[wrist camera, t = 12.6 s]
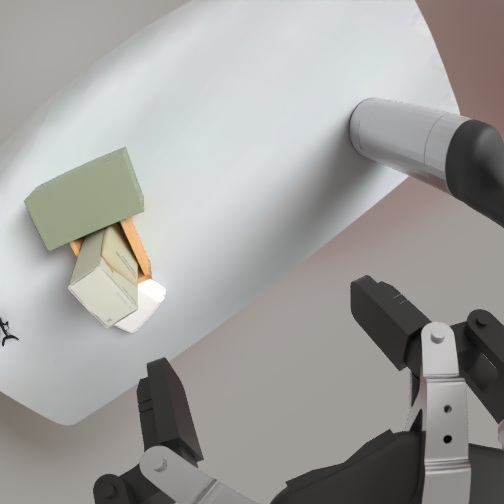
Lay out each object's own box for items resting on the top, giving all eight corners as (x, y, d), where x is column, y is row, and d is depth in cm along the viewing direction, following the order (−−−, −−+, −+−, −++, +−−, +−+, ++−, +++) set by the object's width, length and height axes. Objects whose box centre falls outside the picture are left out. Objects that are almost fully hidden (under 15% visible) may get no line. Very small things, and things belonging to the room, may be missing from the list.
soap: (133, 328, 44) (134, 341, 42) (96, 308, 41) (94, 320, 38) (169, 288, 43) (171, 301, 41) (130, 263, 40) (130, 275, 37)
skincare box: (138, 251, 39) (142, 310, 29) (112, 268, 38) (108, 331, 28) (110, 213, 35) (101, 264, 25) (83, 232, 35) (66, 288, 25)
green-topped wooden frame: (125, 146, 32) (123, 155, 28) (166, 255, 40) (171, 275, 36) (36, 187, 30) (23, 201, 26) (87, 286, 38) (83, 308, 34)
